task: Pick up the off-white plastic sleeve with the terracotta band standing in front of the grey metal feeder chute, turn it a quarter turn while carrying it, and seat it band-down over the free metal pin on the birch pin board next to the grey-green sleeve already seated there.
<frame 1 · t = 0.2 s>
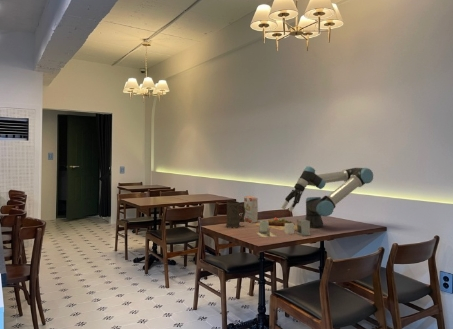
hand: (286, 209, 265), 16 cm above the table, tool tilted 35°, fingers open, 13 cm apart
seated sleeve: (263, 232, 253), point 1 cm above the table, touching pin board
pin board: (266, 236, 248), on the table
sleeve: (289, 235, 252), on the table
cracker box: (250, 221, 307), on the table
beer stein: (235, 226, 285), on the table
feeder chute: (303, 234, 254), on the table
cutting board: (278, 228, 282), on the table
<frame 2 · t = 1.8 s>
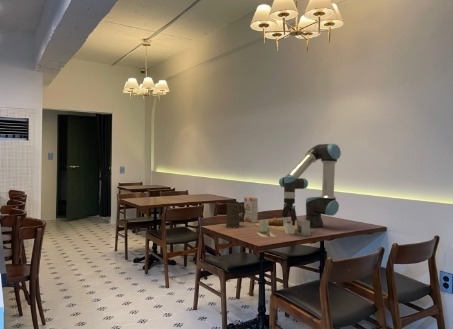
hand: (289, 228, 252), 5 cm above the table, tool pointing down, fingers open, 13 cm apart
nothing on the table moved.
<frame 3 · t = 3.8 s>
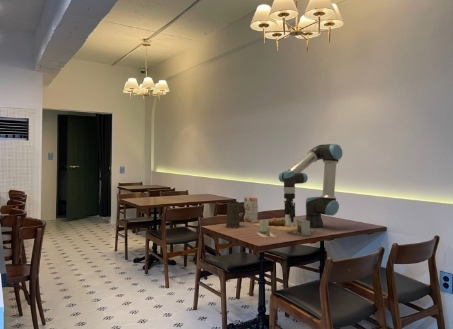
hand: (290, 225, 252), 6 cm above the table, tool pointing down, fingers closed on sleeve, 6 cm apart
sleeve: (290, 226, 252), point 6 cm above the table, touching gripper
everything else where it was.
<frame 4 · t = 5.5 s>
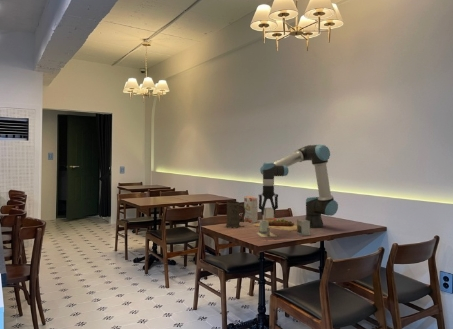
hand: (268, 219, 244), 12 cm above the table, tool pointing down, fingers closed on sleeve, 6 cm apart
sleeve: (268, 219, 244), point 12 cm above the table, touching gripper
when the fingers open (2 cm above the table, at t = 7.3 s): sleeve stays where it is, resting on pin board.
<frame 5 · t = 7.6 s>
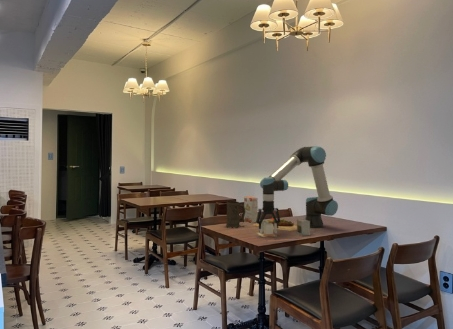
hand: (268, 233, 244), 3 cm above the table, tool pointing down, fingers open, 9 cm apart
sleeve: (268, 235, 244), point 1 cm above the table, touching pin board
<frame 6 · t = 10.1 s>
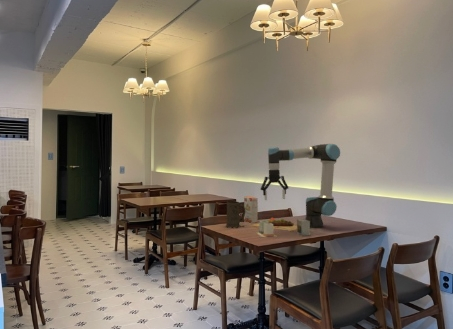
hand: (274, 199, 254), 25 cm above the table, tool pointing down, fingers open, 13 cm apart
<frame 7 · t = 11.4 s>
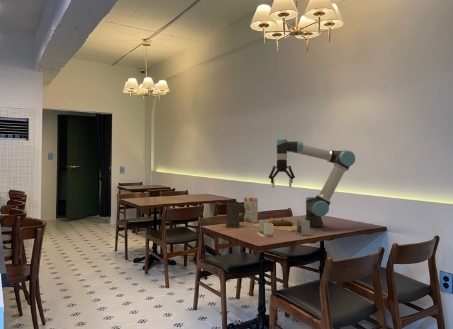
hand: (281, 187, 270), 32 cm above the table, tool pointing down, fingers open, 13 cm apart
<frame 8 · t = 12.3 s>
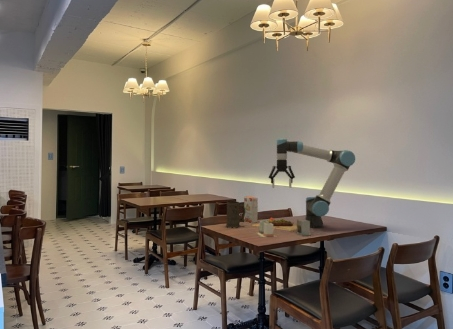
hand: (281, 187, 270), 32 cm above the table, tool pointing down, fingers open, 13 cm apart
at the end: sleeve 0.1 cm from the target spot on the pin board, point 1.5 cm above the pin board's base; sleeve tilted 0°; the gripper is holding nothing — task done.
